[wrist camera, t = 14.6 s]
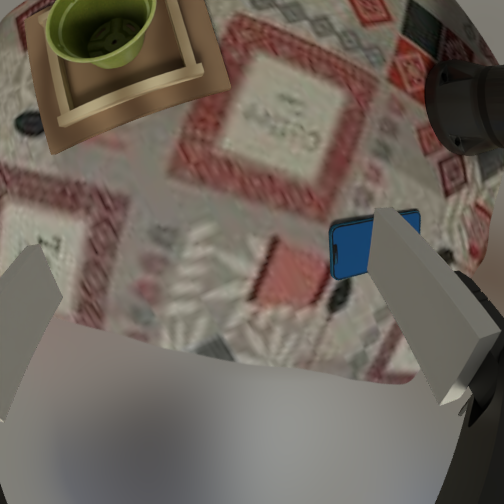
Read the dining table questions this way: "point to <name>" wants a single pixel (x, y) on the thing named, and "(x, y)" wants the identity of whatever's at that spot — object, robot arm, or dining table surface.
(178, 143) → the dining table surface
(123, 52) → the plant pot
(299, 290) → the dining table surface
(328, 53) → the dining table surface
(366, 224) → the smartphone
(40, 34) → the pot stand
